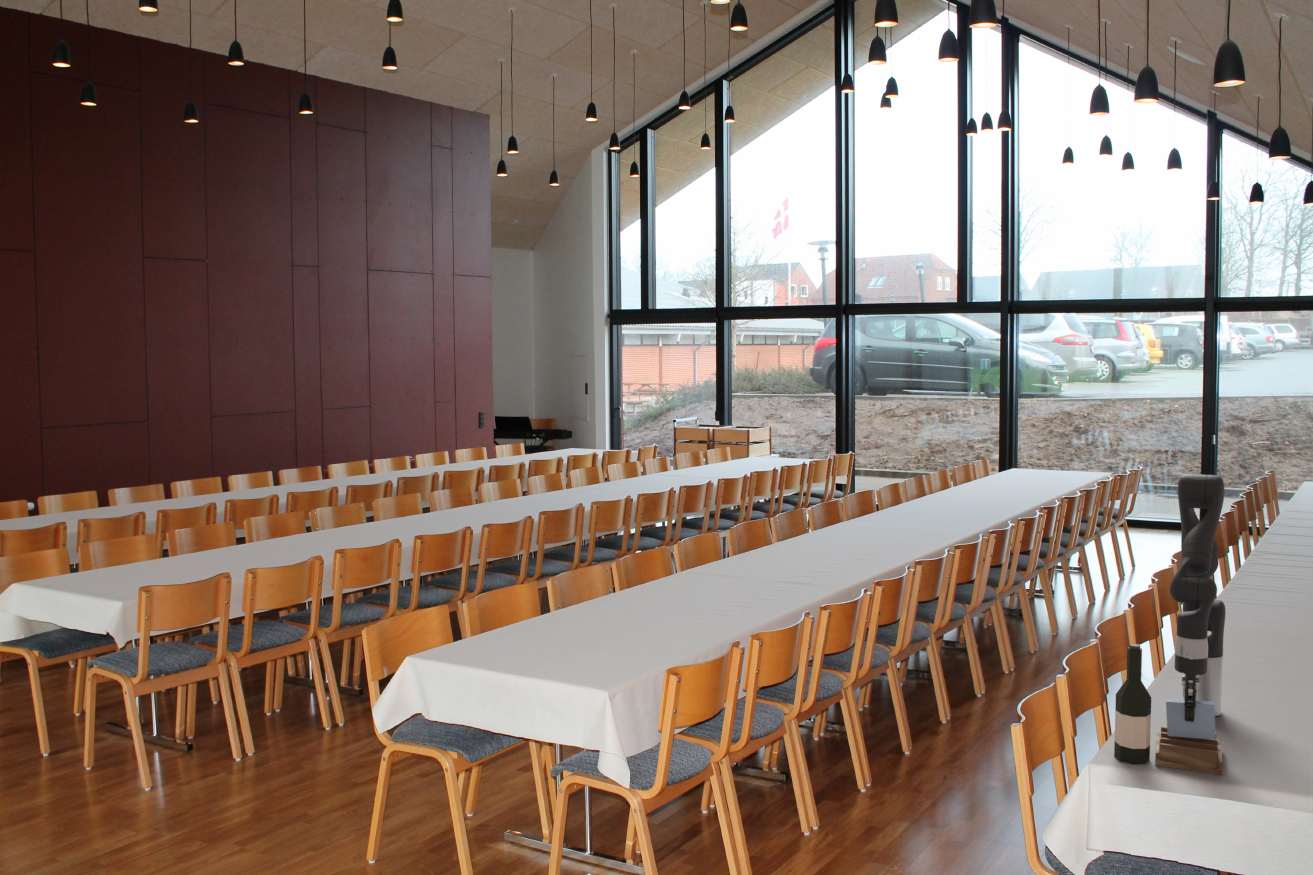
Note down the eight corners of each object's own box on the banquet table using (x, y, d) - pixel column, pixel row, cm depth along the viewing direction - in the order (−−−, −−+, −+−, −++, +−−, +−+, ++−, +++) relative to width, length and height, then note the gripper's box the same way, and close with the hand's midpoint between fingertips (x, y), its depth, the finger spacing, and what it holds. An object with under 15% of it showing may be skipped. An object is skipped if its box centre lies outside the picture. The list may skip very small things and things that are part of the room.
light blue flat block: (1167, 732, 273) (1166, 698, 273) (1215, 736, 268) (1213, 701, 268) (1167, 735, 271) (1166, 701, 271) (1215, 739, 266) (1214, 704, 266)
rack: (1156, 743, 281) (1157, 724, 280) (1220, 752, 274) (1220, 732, 274) (1155, 764, 267) (1155, 744, 266) (1222, 774, 260) (1222, 754, 259)
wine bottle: (1150, 766, 266) (1153, 650, 263) (1114, 762, 269) (1117, 647, 266) (1148, 754, 273) (1151, 642, 271) (1113, 750, 276) (1116, 639, 274)
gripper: (1175, 644, 276) (1173, 708, 277) (1174, 658, 264) (1172, 725, 265) (1207, 647, 273) (1205, 712, 274) (1208, 662, 260) (1206, 730, 262)
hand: (1189, 718), depth 270 cm, fingers closed on light blue flat block, 2 cm apart
